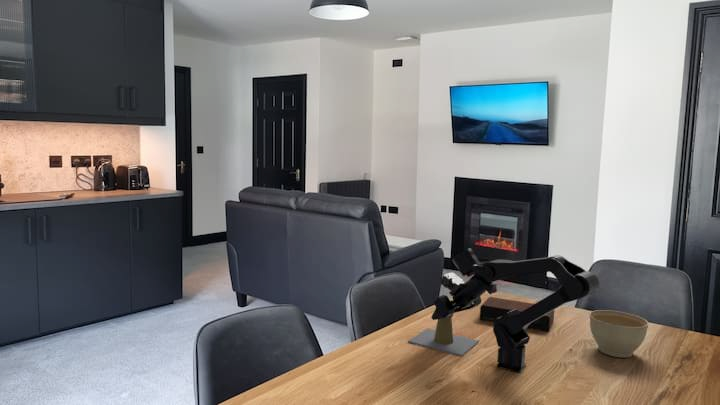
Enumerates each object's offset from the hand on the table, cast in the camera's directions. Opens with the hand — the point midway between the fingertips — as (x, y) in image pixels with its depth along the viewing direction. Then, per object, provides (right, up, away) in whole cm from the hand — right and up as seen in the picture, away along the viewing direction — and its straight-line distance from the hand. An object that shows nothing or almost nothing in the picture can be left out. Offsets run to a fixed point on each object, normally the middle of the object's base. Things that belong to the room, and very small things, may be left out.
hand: (441, 315), depth 165 cm
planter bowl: (+53, -11, -4) cm, 54 cm away
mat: (+1, -8, 0) cm, 8 cm away
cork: (+1, -8, 0) cm, 8 cm away
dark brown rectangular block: (+30, -7, +22) cm, 38 cm away
